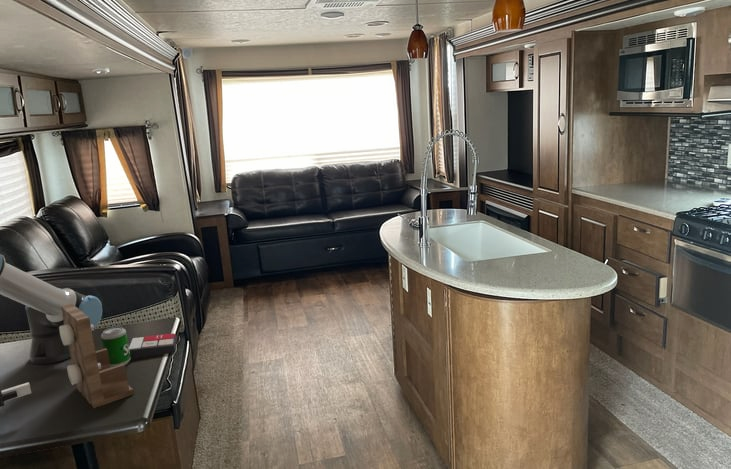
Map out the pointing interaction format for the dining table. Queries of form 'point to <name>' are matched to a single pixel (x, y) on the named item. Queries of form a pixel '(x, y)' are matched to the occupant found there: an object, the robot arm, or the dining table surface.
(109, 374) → the knob panel
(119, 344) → the soda can
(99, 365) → the lower knob
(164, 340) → the calculator
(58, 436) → the dining table surface
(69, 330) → the upper knob
